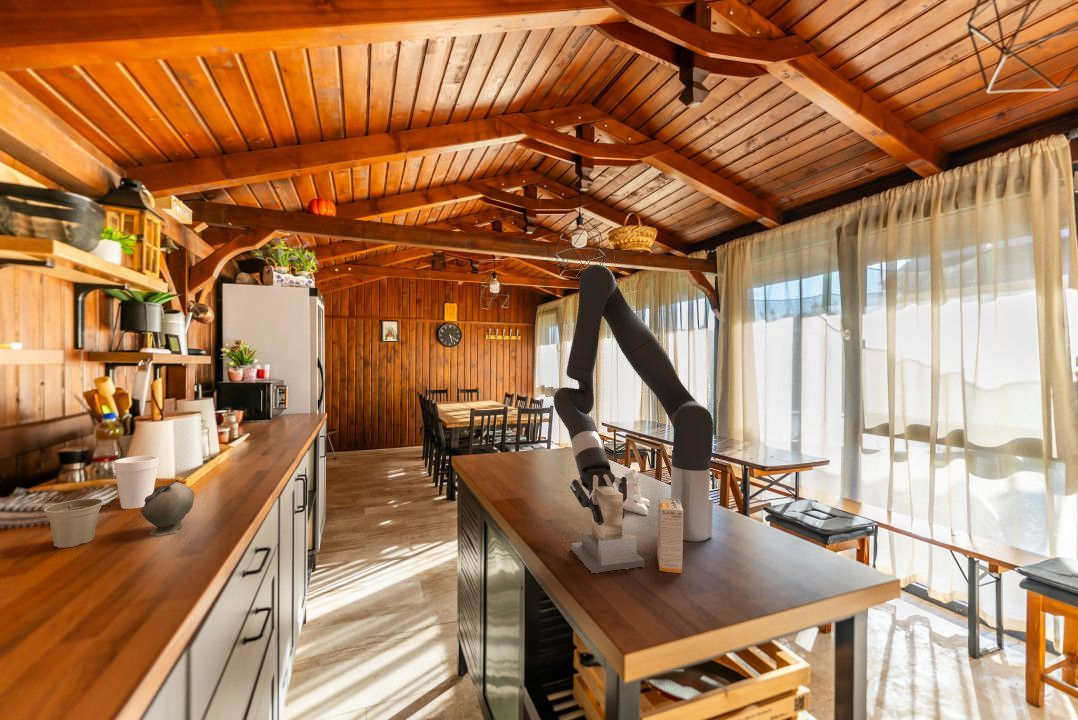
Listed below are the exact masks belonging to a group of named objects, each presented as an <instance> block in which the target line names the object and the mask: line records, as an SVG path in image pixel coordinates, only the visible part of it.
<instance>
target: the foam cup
mask: <svg viewBox="0 0 1078 720" xmlns="http://www.w3.org/2000/svg"><path fill="white" fill-rule="evenodd" d="M113 462H114V463H113V470H114V471H115V477H116V483H117V485H116V486H117V489H118V497H119V502H120V503H119V504H120V508H121V509H125V510H131V509H132V510H133V509H141V508H143V507H144V505H145V498H146V497H147V496H149V495H151V494H152V493H153V491H154V490H155V485H156V479H157V473H158V467H159V465H160V456H158V455H137V456H129V457H121V458H119V459H116V460H115V461H113Z"/></svg>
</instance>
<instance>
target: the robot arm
mask: <svg viewBox="0 0 1078 720" xmlns="http://www.w3.org/2000/svg"><path fill="white" fill-rule="evenodd" d="M578 285H579V286H578V307H577V317H576V322H575V327H574V328H575V329H574V333H573V338H572V342H571V347H570V352H569V355H568V357H569V358H568V360H567V367H566V371H565V372H566V376H567V377H568V378H569V379H572V380H574V381H577V383H578V388H575V387H560V388H558V389H557V390H556V392H555V394H554V395H553V406H554V409H555V412H556V413H557V416H558V417H559V419H560V420H561V421H562V423H563V425H564V426H565V428H566V429H567V430H568V435H569V438H570V442H571V446H572V447H571V448H572V453H573V457H574V461H575V464H576V467H577V471H578V475H579V479H573V480H572V482H571V483H570V485H569V489H570V491H572V493H573V495H574V496H575V498H576V500H577V501H578V503H579V504H580V507H582V508H584V509H585V508H588V509H590V511H591V516H592V515H593V518H594V521H595V523H597V524H598V525H602V523H603V517H602V513H601V510H600V507H599V505H598V499H597V492H596V489H595V488H598V487H601V486H608V487H612V488H614V489H616V488H617V491H619V492H620V493H622V494H623V503H624V502H625V500H626V499H627V484H628V482H627V479H626V477H625V476H622V477H616V475H615V473H613V471H612V470H611V464H610V462H609V458H608V456H607V453H606V450H605V446H604V443H603V441H602V439H601V436H600V435H599V432H598V427H597V426H596V424H595V420H594V419H593V417H592V416H590V415H589V414H590V413H591V412H592V410H593V408H594V404H595V397H594V396H595V395H594V370H595V365H596V360H597V355H598V350H599V340H600V329H601V322H602V319H603V318H604V320H605V321H606V323H607V325H608V327H609V329H610V331H611V332H612V335H613V337H614V339H615V341H616V343H617V345H618V347H619V349H620V350H621V352H622V354H623V356H624V357H625V358H626V360H627V361H628V364H630V366H631V367H632V369H633V370H634V372H636V374H637V375H638V376H639V378H640V379H641V380H642V381H643V383H645V385H646V386H647V387H648V388H649V389H650V390H651V391H652V393H654V395H655V397H656V398H657V399H658V401H659V403H660V404H661V406H662V409H664V412H665V414H666V416H667V417H668V419H669V421H670V424H671V426H672V427H673V436H672V437H673V438H672V439H673V441H672V444H673V446H672V453H671V459H670V460H671V463H670V464H671V465H670V466H671V467H670V499H679V500H680V502H681V505H682V508H683V511H684V512H683V541H687V542H703V541H706V540H708V539H709V538H712V537H713V516H714V515H713V514H714V513H713V509H714V508H713V507H714V504H713V503H714V500H713V498H712V497H710V492H711V491H710V490H711V489H710V486H711V485H710V483H711V482H710V479H711V478H710V477H711V475H710V474H711V473H710V472H711V461H712V460H711V459H712V457H713V445H714V444H713V443H714V420H713V416H712V414H711V412H710V411H709V409H708V408H706V407H705V406H703V405H701V404H700V403H699V402H698V401H697V400H696V399H695V398H694V397H693V396H692V394H691V393H690V392H689V390H688V389H687V388H686V387H685V386H684V384H683V383H682V382H681V379H680V378H679V376H678V374H677V372H676V369H675V367H674V365H673V362H672V361H671V359H670V356H669V355H668V354H667V351H666V350H665V348H664V347H663V345H662V344H661V342H660V341H659V339H657V337H656V335H655V334H654V332H653V331H652V329H651V328H650V327H649V326H648V325H647V324H646V323H645V321H644V320H643V319H642V318H641V317H640V316H639V315H638V314H637V312H635V311H634V309H633V308H632V307H631V306H630V303H628V301H627V299H626V297H625V295H624V294H623V292H622V290H621V288H620V286H619V285H618V283H617V281H616V278H615V275H614V274H613V273H612V271H611V269H609V268H608V267H607V266H605V265H603V264H592V265H590V266H588V267H586V268H585V269H584V270H583V271H582V273H581V274H580V276H579V280H578ZM602 317H603V318H602ZM614 483H615V486H616V488H615V486H614ZM583 487H584V489H586V490H587V491H588V495H587V493H586V492H585V490H584V489H583ZM624 518H625V514H624V512H623V518H622V522H623V521H624Z"/></svg>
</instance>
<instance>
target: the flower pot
mask: <svg viewBox="0 0 1078 720" xmlns="http://www.w3.org/2000/svg"><path fill="white" fill-rule="evenodd" d="M103 504H104V499H102V498H91V497H90V498H81V499H80V498H79V499H74V500H73V499H72V500H67V501H62V502H58V503H55V504H54V503H53V504H51V505H48V506H46V507H45V508H44V509H43V512H44V513H46V517H47V518H48V520H49V525H50V529H51V530H50V531H51V535H52V536H51V537H52V541H53V546H54V547H57V548H59V549H67V548H74V547H77V546H80V545H82V544H88V543H89V542H91V541H92V540H94V538H95V530H96V527H97V526H96V525H97V522H98V517H99V511H100V509H101V508H102V505H103Z"/></svg>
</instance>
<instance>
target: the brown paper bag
mask: <svg viewBox="0 0 1078 720" xmlns="http://www.w3.org/2000/svg"><path fill="white" fill-rule="evenodd" d="M614 488H615V487H614ZM614 488H612V487H608V486H601V487H598V488H595V489H596V492H597V499H598V505H599V507H600V510H601V513H602V517H603V523H602V525H598V524H597V523H595V521H594V518H593V515H592V514H591V535H592V536H593V537H594V538H595V539H596V540H597V541H598V542H599V538H606V537H616V536H622V535H623V521H622V518H623V513H624V508H623V494H622V493H620V492H619V491H618V489H616V488H615V489H614ZM623 519H624V518H623Z"/></svg>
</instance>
